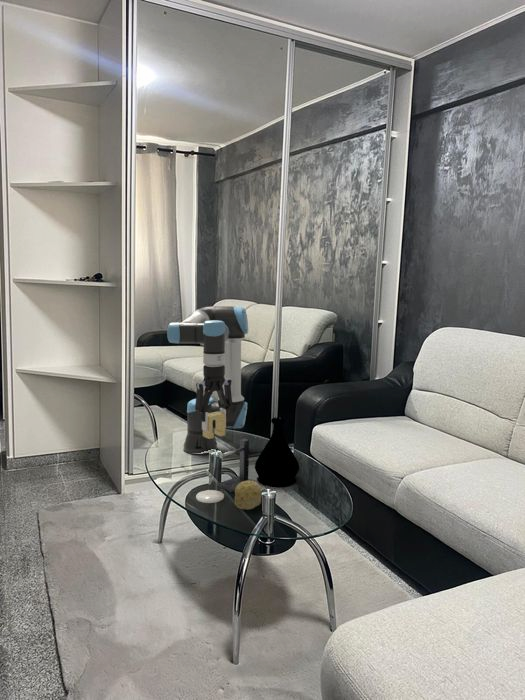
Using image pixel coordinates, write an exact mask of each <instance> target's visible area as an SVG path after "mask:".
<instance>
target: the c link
mask: <svg viewBox="0 0 525 700" xmlns="http://www.w3.org/2000/svg"><path fill="white" fill-rule="evenodd" d="M213 420H216V428H215V429H214V428H213ZM213 433H214V434H213ZM215 435H216V436H218V437H225V436H226V428H225V413H222V412H219V411H218V412H213V413H208V431H205V430H203V436H204V437H206V438H208V439H211V438H214V436H215Z"/></svg>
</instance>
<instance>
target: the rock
mask: <svg viewBox="0 0 525 700" xmlns="http://www.w3.org/2000/svg"><path fill="white" fill-rule="evenodd" d="M254 481H255V480H253V481H250V480H248V481H243V482H241V483H239V484H238V485H237V487H236V489H235V491H234V494H235V495H234V506H236V508H237V509H240V510H253V509H255V508H257V507H259V506H260V505H261V503H262V488H261V486H260V484H259V483H258V482H257V481H255V482H254Z"/></svg>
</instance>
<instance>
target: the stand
mask: <svg viewBox="0 0 525 700" xmlns="http://www.w3.org/2000/svg"><path fill="white" fill-rule="evenodd" d="M249 443H250V440H249V439H247V438H241V439H239V448H237V449H234V450H230V451H227V452H224V453H223V452H220V453H218V457H219V458H220V459H221V460H222V459H224V458H225V457H228V456H230V455H234V454H237V453H239V475H237V476H235V477H232V478H230V479H226V480H223V481H221V482H218V483H217V487H219V488H221V489H223V490H225V491H228V492H230V493H235V489H236V487H237V485H238V484H239V483H241V482H243V481H248V480H250V481H254V482H256V481H255V480H253V479H250V478H249V471H250V470H249V469H250V468H249V463H250V462H249V459H250V457H249V455H250V450H249V449H250V444H249Z"/></svg>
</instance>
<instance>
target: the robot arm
mask: <svg viewBox="0 0 525 700" xmlns="http://www.w3.org/2000/svg"><path fill="white" fill-rule="evenodd" d="M248 333H249V323H248V315H247V311H246V309H245V308H244V307H242V306H236V305H235V306H234V305H233V306H226V305H225V306H219V305H218V306H214V305H211V306H204V307H201V308H198V309H195V310H194V311H192V312H190V314H188V317H187V318H186V319H184V320H183V321H182V322H178V321H177V322H170V323H169V324H168V326H167V332H166V334H167V335H166V336H167V340H168V342H169V343H170V344H171V343H172V344H178V345H179V344H196V345H198V344H199V345H203V354H202V356H203V357H202V358H203V359H202V362H203V363H202V364H203V368H202V371H203V372H202V373H203V380H202V381H201V382H197V383H196V384H195V386H196V398H193V399H191V400H190V401H188V402H187V407H186V408H187V410H186V413H187V415H186V417H187V418H186V419H187V421H186V424H187V426H186V427H187V434H186V436H185V439H184V440H185V441H184V443H183V451H184V450H185V451H186V453H187V452H189V453H188V454H190V453H201V452H204V451H208V450H211V449H217V450H218V442H217V439H216V436H215V434H214V432H213V434H214V438H211V439H208V438H206V437H204V436H203V430H205V431H208V413H213V412H218V411H219V412H222V413H225V429H241V428H243V427H244V426H245V423H246V416H247V412H248V402H247V401H245V397H244V396H243V395H242V342H243V340H244V339H245V337H246V335H248ZM213 392H216V393H217V397H218V398H217V401H215V400H214V398H213V397H211V396H212V395H213ZM214 428H215V429H216V420H213V429H214ZM185 451H184V452H185Z"/></svg>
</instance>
